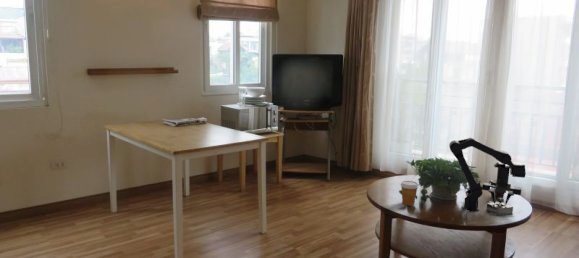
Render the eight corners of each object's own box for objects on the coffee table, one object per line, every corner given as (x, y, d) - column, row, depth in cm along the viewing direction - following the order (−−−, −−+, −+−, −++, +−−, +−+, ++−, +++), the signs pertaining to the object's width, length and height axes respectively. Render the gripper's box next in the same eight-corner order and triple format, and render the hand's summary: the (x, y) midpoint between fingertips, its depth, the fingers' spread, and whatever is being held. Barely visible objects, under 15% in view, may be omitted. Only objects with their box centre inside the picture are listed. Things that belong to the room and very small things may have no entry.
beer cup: (418, 202, 265) (419, 182, 263) (415, 207, 257) (416, 186, 255) (401, 200, 269) (402, 179, 267) (397, 204, 261) (399, 183, 259)
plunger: (499, 212, 250) (500, 199, 249) (495, 210, 253) (496, 197, 252) (503, 212, 251) (504, 199, 250) (499, 210, 254) (500, 197, 253)
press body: (498, 215, 247) (499, 208, 246) (482, 208, 258) (483, 201, 257) (512, 214, 250) (513, 207, 249) (496, 207, 261) (496, 200, 260)
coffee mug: (506, 200, 272) (508, 184, 271) (490, 199, 274) (492, 182, 272) (502, 195, 283) (503, 178, 282) (486, 193, 285) (488, 177, 283)
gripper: (482, 176, 246) (479, 205, 249) (522, 182, 238) (519, 211, 240) (484, 172, 256) (481, 199, 258) (522, 176, 248) (519, 205, 250)
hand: (499, 204), depth 252 cm, fingers open, 5 cm apart
